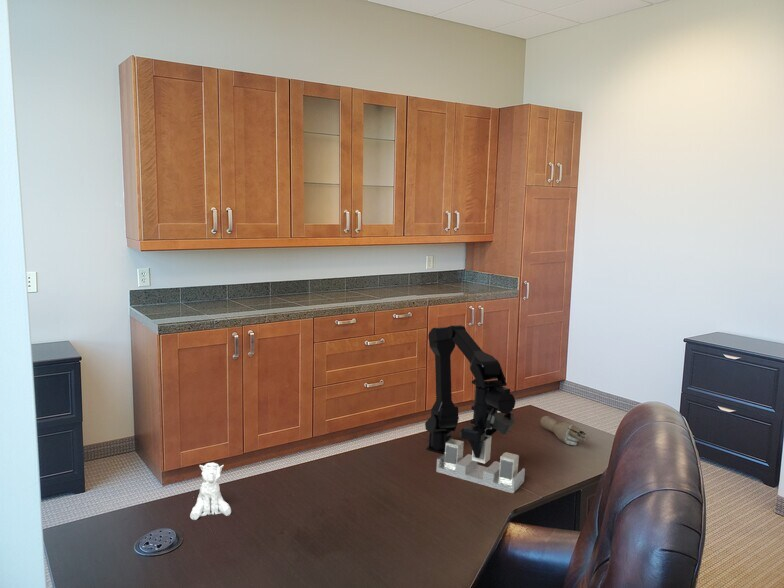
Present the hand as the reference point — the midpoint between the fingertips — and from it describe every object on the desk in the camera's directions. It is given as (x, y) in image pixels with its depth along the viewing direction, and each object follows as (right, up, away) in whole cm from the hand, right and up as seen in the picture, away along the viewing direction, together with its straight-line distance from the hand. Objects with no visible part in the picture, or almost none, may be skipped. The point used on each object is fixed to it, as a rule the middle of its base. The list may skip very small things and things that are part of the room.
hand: (480, 454), depth 176 cm
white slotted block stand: (0, -7, +1) cm, 7 cm away
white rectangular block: (0, -2, 0) cm, 2 cm away
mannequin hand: (+34, -4, +34) cm, 48 cm away
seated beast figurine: (-71, -7, -26) cm, 76 cm away
